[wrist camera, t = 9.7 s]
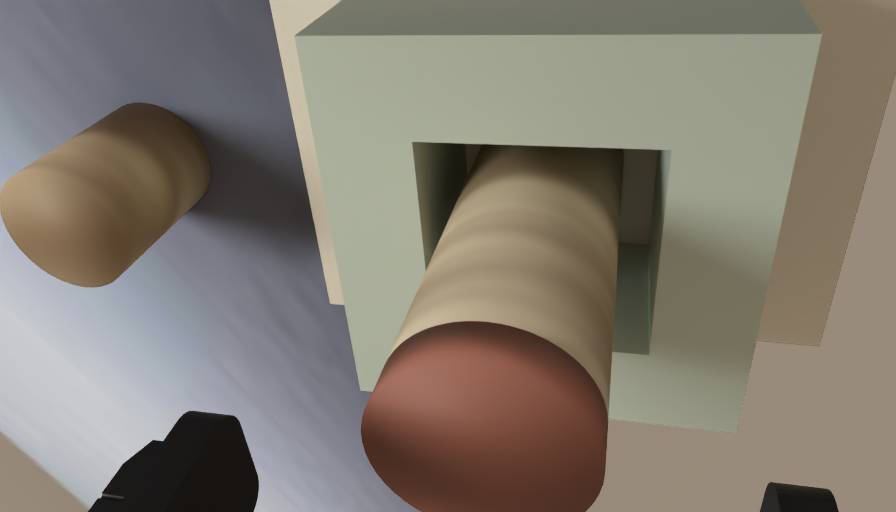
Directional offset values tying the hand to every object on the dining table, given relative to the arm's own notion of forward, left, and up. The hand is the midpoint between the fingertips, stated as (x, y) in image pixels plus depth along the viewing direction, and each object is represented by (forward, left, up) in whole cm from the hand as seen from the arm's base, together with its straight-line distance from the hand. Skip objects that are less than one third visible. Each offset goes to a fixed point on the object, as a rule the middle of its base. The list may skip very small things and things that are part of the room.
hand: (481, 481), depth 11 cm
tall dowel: (0, 0, -12) cm, 12 cm away
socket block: (0, 0, -13) cm, 13 cm away
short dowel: (+1, -14, -13) cm, 19 cm away
